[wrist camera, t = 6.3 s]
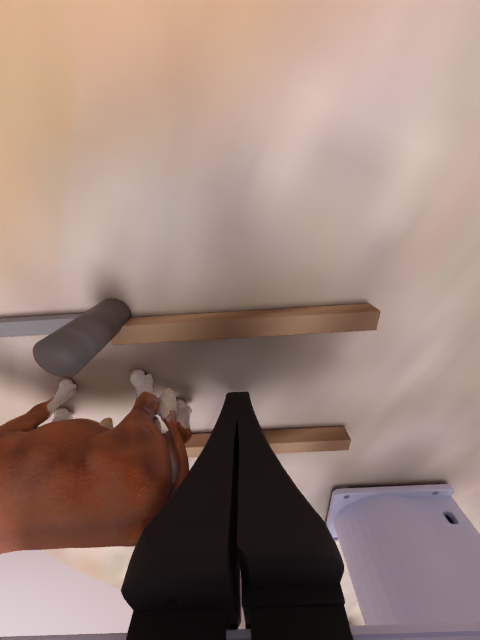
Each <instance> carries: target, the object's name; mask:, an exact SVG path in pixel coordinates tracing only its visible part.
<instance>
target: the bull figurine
mask: <svg viewBox="0 0 480 640" xmlns="http://www.w3.org/2000/svg"><path fill="white" fill-rule="evenodd" d="M129 380H130V382H131V383H132V385H133V386H134V387H135V388H136V392H137V395H136V402H135V405H134V407H133V409H132V410H131V412H130V413H129V414H128V415H127V416H126V417H125V418H124V419H123V420H122V421H121V422H120V423H119V424H118V425H117V426H116V427H115V428H113V422H112V419H111V418H105V419H103V420H102V421H101V423H99V422H96V421H93V420H90V419H81V418H80V419H72V418H73V417H72V412H69V410H68V409H66V408H64V407H59V406H60V405H61V404H62V403H64V402H65V401H67V400H69V399H71V398H73V397H75V396H76V395H77V391H76V387H77V385H76V384H73V381H72V380H71V379H69V378H63V379H61V380H60V381H59V388H58V390H57V392H56V394H55V396H54V397H53V398H52V399H50V400H49V401H46V402H43V403H40V404H38V405H36V406H34V407H33V408H32V409H31V410H30V411H29V412H27V413H26V414H24V415H22V416H20V417H17V418H15V419H13V420H11V421H9V422H7V423H5V424H3V425H2V426H0V554H2V553H7V552H12V551H20V550H42V549H60V548H91V547H110V546H127V547H128V546H136V544H137V542H138V540H139V538H140V535H141V533H142V531H143V530H144V528H145V527H146V526H147V525H148V524H149V522H150V521H151V520H152V519H153V518H154V517H155V515H156V514H157V513H158V512H159V511H160V510H161V508H162V507H163V506H164V505H165V503H166V502H167V501H168V500H169V498H170V497H171V496H172V494H173V493H174V492H175V490H176V489H177V488H178V486H179V485H180V484H181V482H182V481H183V480H184V478H185V477H186V475H187V474H188V472H189V463H188V456H187V451H186V448H185V444H186V443H187V442H188V441H189V440H190V439H191V437H192V433H191V430H190V423H189V420H190V414H191V411H192V410H191V408H190V406H189V405H186V404H185V402H184V400H182V399H176V394H175V392H174V391H172V389H171V388H167V389H165V390H164V391H163V393H162V395H161V397H160V398H158V397H156V395H155V394H154V391H153V388H152V385H153V382H154V381H153V379H152V375H151V374H147V375H145V373H144V371H143V370H141V369H134V370H132V371H130V373H129ZM53 412H54V419H53V421H52V422H51V423H48V424H45V425H43V426H41V427H37V426H39V425H40V424H41V423H43V422H44V421H46V420H47V419H48V418H49V417H50V416H51V415H52V414H53ZM157 414H159V416H160V417H161V419H162V421H164V423H165V424H166V426H167V428H168V429H169V431H168V432H167V433H166V434H165V435H164V436H163V435H162V433H161V424H160V422H159V420H158V417H156V416H155V415H157Z"/></svg>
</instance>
